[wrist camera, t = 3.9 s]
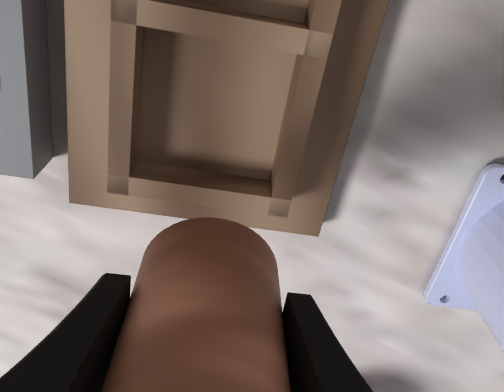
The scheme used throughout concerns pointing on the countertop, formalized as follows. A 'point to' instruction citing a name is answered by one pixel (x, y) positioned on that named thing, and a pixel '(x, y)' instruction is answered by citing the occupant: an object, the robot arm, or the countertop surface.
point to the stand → (24, 89)
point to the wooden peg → (203, 315)
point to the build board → (214, 105)
